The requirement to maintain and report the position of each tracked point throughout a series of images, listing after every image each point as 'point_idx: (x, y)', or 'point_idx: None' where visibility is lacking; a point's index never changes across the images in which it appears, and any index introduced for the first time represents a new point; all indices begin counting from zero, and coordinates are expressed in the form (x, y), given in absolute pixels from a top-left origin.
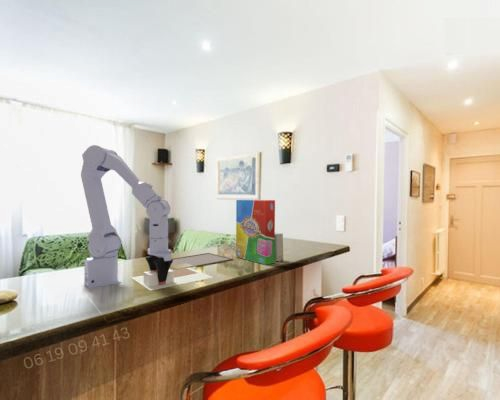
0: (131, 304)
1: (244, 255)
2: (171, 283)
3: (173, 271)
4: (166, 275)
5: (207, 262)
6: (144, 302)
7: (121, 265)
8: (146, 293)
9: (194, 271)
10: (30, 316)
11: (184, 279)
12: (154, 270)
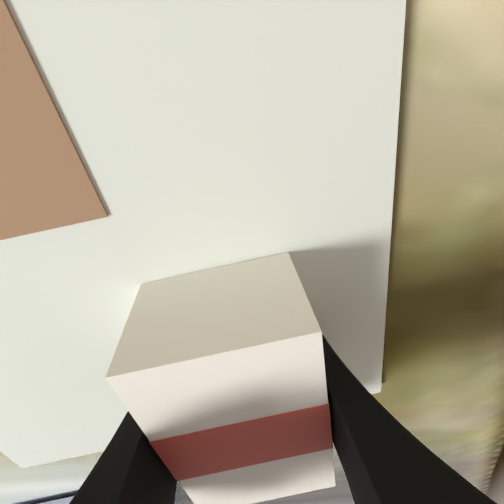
0: (475, 434)
1: None
2: (317, 275)
3: (319, 330)
4: (350, 374)
5: None
6: (499, 403)
7: None
8: (385, 397)
9: None
10: None
11: (252, 126)
12: (185, 469)
